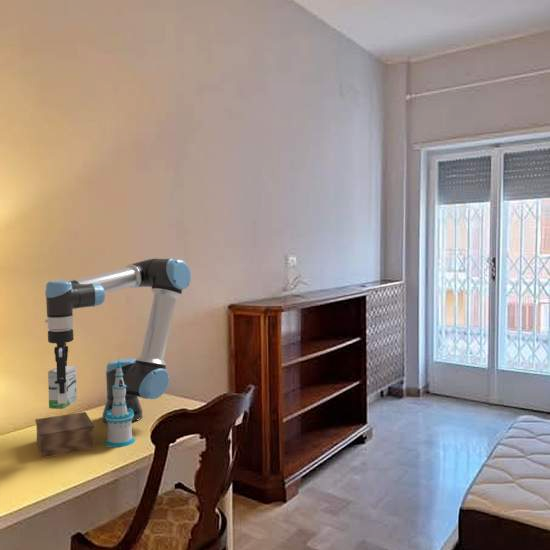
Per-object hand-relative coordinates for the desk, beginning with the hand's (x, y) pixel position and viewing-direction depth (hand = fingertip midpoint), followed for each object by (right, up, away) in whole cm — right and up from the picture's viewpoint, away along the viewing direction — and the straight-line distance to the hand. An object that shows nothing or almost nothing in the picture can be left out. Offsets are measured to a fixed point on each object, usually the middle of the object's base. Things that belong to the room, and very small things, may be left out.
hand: (63, 398), depth 165 cm
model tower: (+14, -18, +13) cm, 27 cm away
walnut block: (-4, -19, +10) cm, 22 cm away
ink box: (0, -2, 0) cm, 2 cm away
